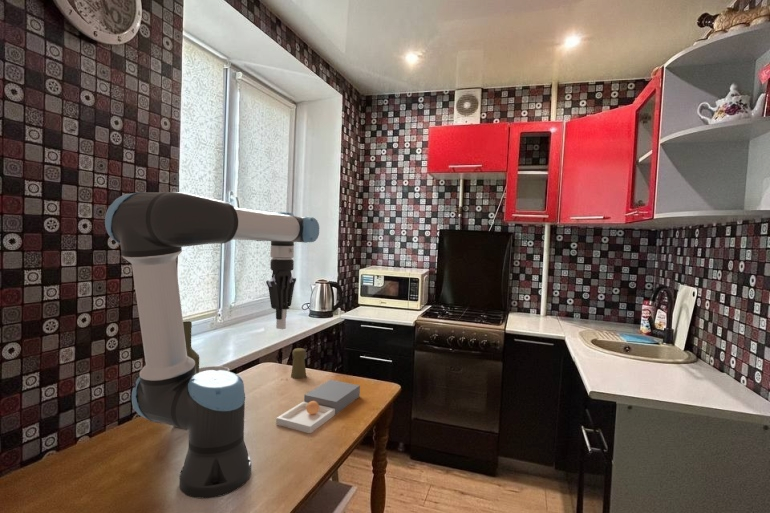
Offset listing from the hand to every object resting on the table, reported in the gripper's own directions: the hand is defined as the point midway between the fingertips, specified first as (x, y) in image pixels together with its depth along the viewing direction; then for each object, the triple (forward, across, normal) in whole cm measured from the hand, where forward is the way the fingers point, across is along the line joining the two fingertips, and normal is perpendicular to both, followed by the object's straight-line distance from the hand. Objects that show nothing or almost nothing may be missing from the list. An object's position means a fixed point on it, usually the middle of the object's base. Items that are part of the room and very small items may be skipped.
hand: (281, 328), depth 136 cm
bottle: (+25, -27, +12) cm, 39 cm away
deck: (+24, +7, -17) cm, 30 cm away
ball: (+22, -5, -17) cm, 28 cm away
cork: (+25, +22, +8) cm, 34 cm away
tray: (+24, -8, -17) cm, 31 cm away
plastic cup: (+25, -14, +16) cm, 33 cm away
